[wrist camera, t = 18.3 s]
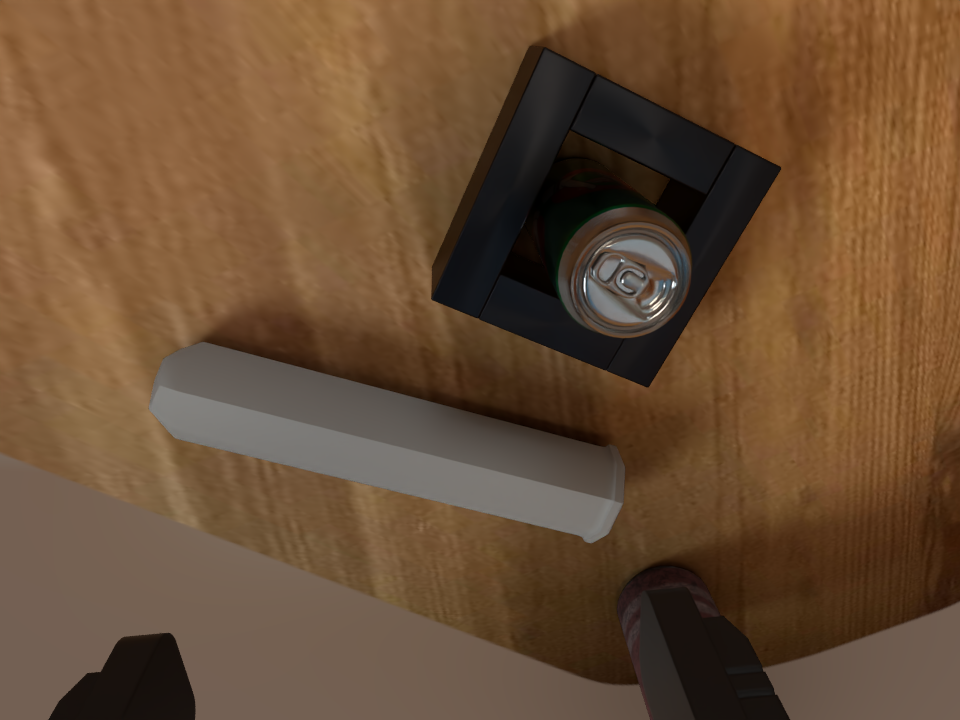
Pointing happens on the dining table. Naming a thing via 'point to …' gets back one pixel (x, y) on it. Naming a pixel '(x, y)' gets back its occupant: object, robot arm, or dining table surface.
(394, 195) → the dining table surface
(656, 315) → the soda can
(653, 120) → the holder
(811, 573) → the dining table surface
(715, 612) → the can
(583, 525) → the tube
